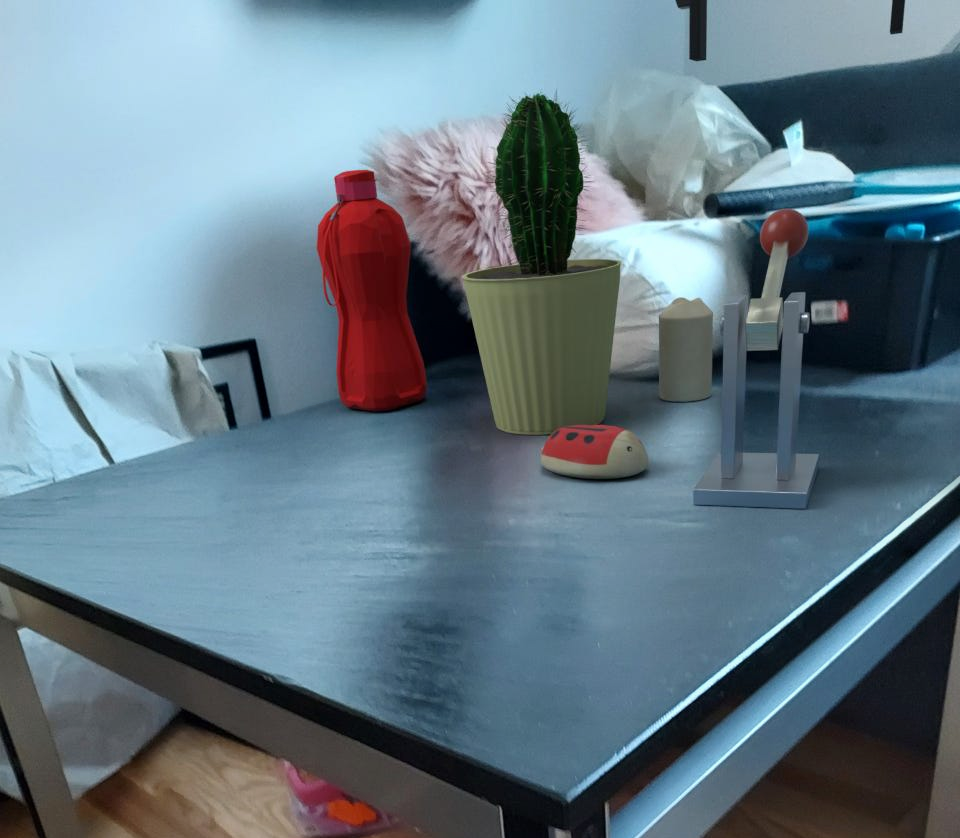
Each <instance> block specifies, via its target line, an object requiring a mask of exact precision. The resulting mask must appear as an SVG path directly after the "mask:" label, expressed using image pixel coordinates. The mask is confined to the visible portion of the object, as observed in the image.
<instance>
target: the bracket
mask: <svg viewBox="0 0 960 838" xmlns="http://www.w3.org/2000/svg"><path fill="white" fill-rule="evenodd" d="M805 306H806V292H805V291H800V292H799V291H797V292H791V293H790V294H789V295H788V296H787V298H786V299H785V301H783V328H782V333H781V356H780V357H781V358H780V359H781V360H780V377H779V395H778V396H779V397H778V398H779V399H778V416H777V417H778V419H777V437H776V438H777V439H776V452H744V436H745V406H746V405H745V403H746V376H747V375H746V374H747V373H746V372H747V350H746V330H745V322H746V318H747V313H748V309H749V294H734V295H733V296H732V297H731V298H730V299H729V300H727V301H726V302H725V303H724V306H723V315H722V316H721V318H720V324H719V332H720V336H722V337H723V346H722V347H723V349H722V351H723V353H722V355H723V356H722V389H721V390H722V394H721V397H722V399H721V400H722V401H721V440H720V451H717V452H716V453H715V455H714V457H713V458H712V460H711V461H710V463H709V465H708V466H707V468H706V469H705V471H704V473H702V475H701V477H700V479H699V480H698V481H697V483H696V485H695V486H694V488H693V491H692V492H693V493H692V495H693V496H692V497H693V498H692V504H693V505H694V506H695V505H696V506H717V507H719V506H720V507H741V508H742V507H745V508H766V509H767V508H770V509H771V508H772V509H792V510H793V509H795V510H796V509H797V510H798V509H799V510H806V509H807V506H808V503H809V500H810V496H811V494H812V490H813V488H814V483H815V480H816V477H817V474H818V471H819V465H820V454H819V453H797V449H798V448H797V447H798V428H799V413H800V395H801V377H802V360H803V343H804V334H808V333H809V329H810V312H808V311H807V312H805V309H806V307H805Z"/></svg>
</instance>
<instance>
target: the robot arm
mask: <svg viewBox="0 0 960 838" xmlns="http://www.w3.org/2000/svg"><path fill="white" fill-rule="evenodd" d="M675 4H676V6H677V8H678V9H679V10H683V11H684V10H689V13H688V14H689V18H688V19H689V21H688V22H689V25H688V26H689V27H688V28H689V29H688V31H689V33H688V36H689V37H688V39H689V40H688V43H689V44H688V45H689V46H688V49H689V50H688V53H689V55H688V60H690V61H694V62H702V61H707V46H708V45H707V39H708V38H707V37H708V35H707V34H708V32H707V31H708V30H707V29H708V0H675ZM905 6H906V0H891V10H890V11H891V12H890V23H889V34H890V36H891V35H898V34H903V31H904V21H905V20H904V19H905V18H904V17H905V8H906V7H905Z"/></svg>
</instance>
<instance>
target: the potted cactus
mask: <svg viewBox="0 0 960 838" xmlns="http://www.w3.org/2000/svg"><path fill="white" fill-rule="evenodd" d="M542 91H543V89H542V88H541V89H540V92H537V93H536V94H533V95H531V93H530V94H529V95H528V94H527V93H526V92H523V94H524V95H525V96H524V97H521V99H519V102H516V100H515V99H513V98H511V96H509V95H508V94H507V95H508V98H510V99H511V101H512V102H513V103H512V105H514V106H513V108H512V107H511V106H510V104H509V103H506V105H508V106H507V107H508V108H507V111H508V112H509V113H507V112H505V113H503V116H505V117H506V118H505V117H503V120H504V123H505V124H504V123H503V122H501V123H502V125H503V126H505V128H502V129H503V132H502V134H501V133H499V134H500V136H501V139H500V140H498V138H497V137H495V138H496V139H495V140H497V142H498V144H497V146H496V148H495V147H493V146H486V147H488V148H491V149H493V150H495V151H496V152H497V154H496V157H495V158H493V159H492V160H493V161H495V163H494V162H490V161H489V162H488V161H486V163H488V164H491V165H494V166H493V169H494V170H491V173H494V174H495V175H491V174H490V176H489V175H486V174H489V173H490V171H485V174H484V172H482V173H481V175H484V176H485V177H487V178H488V179H489V180H491V181H490V182H489V181H487V182H486V184H494V185H492V186H491V188H492V190H489V193H490V192H491V193H492V192H495V194H496V198H495V196H493V197H492V199H491V200H493V201H500V200H501V201H502V205H503V206H502V207H501V208H499V209H498V210H497V211H496V212H495V213H494V214H493V215H492V217H494V216H495V215H496V214H497V213H499V215H498V216H500V217H499V218H498V221H500V220H501V221H502V220H507V221H506V222H504V223H503V227H504V226H505V227H504V229H502V230H501V232H502V233H503V235H506V236H505V237H504V238H503V239H501V241H504V239H508V240H509V239H511V243H512V244H510V245H509V246H507V247H506V249H507V248H508V249H510V248H513V250H512V251H511V252H509V253H508V255H509V254H511V253H513V252H514V254H515V256H516V257H514V258H512V259H511V260H508V261H507V262H506V264H507V263H510V262H511V263H510V264H509V265H504V266H503V265H502V266H496V267H495V266H494V267H489V268H483V269H479V270H474V271H470V272H467V273H465V274H462V275H461V280H463V282H464V289H465V290H464V291H465V295H466V300H467V303H468V308H469V312H470V318H471V321H472V325H473V329H474V334H475V339H476V343H477V347H478V352H479V356H480V357H479V358H480V361H481V365H482V370H483V374H484V378H485V382H486V388H487V392H488V396H489V397H488V398H489V401H490V405H491V406H490V407H491V410H492V414H493V420H494V423H495V425H496V428H497V429H498V430H500V431H502V432H505V433H509V434H514V435H527V436H542V435H543V436H544V435H545V436H546V435H551V434H552V433H554V432H555V431H556V430H557V429H559V428H562V427H566V426H572V425H593V424H595V425H600V423H602V422H603V421H604V419H605V416H606V410H607V402H608V401H607V399H608V391H609V382H610V373H611V362H612V355H613V346H614V338H615V337H614V336H615V327H616V319H617V310H618V309H617V308H618V300H619V292H620V284H621V265H622V261H620V260H618V259H610V258H609V259H608V258H583V259H582V258H580V259H578V258H577V259H570V257H571V256H574V252H575V254H576V253H577V251H576V249H575V248H574V246H573V245H574V242H575V239H576V235H580V236H584V234H583V233H580V234H579V233H576V231H578V232H579V231H580V232H582V231H583V230H584V225H583V224H580V225H579V224H578V226H579V227H578V226H577V221H580V218H578V215H579V214H578V211H579V213H581V212H582V211H583V212H584V211H586V212H587V209H583V208H580V207H578V205H580V204H581V202H579V197H580V199H581V201H584V199H583V197H582V195H580V194H582V193H584V195H586V193H585V192H583V190H584V191H586V192H589V190H588V189H586V188H590V185H589V186H587V185H584V183H586V184H593V183H595V181H594V180H585V179H590V177H592V174H590V175H588V176H587V173H588V172H589V171H590V170H588V169H587V166H585V163H583V162H582V160H584V157H581V156H582V155H584V154H582V153H583V152H585V150H584V149H586V147H587V144H584V145H582V147H581V148H579V143H580V144H581V143H582V142H586V141H587V139H586V140H585V139H582V140H578V139H579V138H581V136H578V135H577V133H576V132H577V131H578V130H580V129H581V126H579V122H577V123H575V124H572V123H574V120H573V119H574V118H575V117H576V116H577V115H576V114H574V113H575V112H576V111H577V110H578V108H576V109H575V110H574V111H573V108H574V107H572V109H571V110H570V112H568V109H569V106H568V103H565V105H564V106H563V107H561V102H560V101H558V97H559V96H558V89H556V90H555V93H554V96H553V100H552V99H549V98H548V96H547V95H545V94H542ZM517 95H518V94H517ZM530 96H531V97H530ZM518 97H520V96H519V95H518ZM564 101H565V100H564ZM564 101H562V103H563V102H564ZM571 101H572V100H570V101H569V103H571ZM566 106H567V108H566ZM512 109H514V110H512ZM562 109H564V110H563V111H562ZM565 109H566V110H565ZM510 114H511V115H510ZM573 114H574V115H573ZM500 115H502V113H500ZM572 115H573V116H572ZM580 125H583V124H582V123H581V124H580ZM584 137H585V136H584V135H583V136H582V138H584ZM580 150H584V151H581V152H580ZM580 164H581V165H583V166H585V167H584V168H583V169H582V170H581V168H580ZM489 168H490V169H492V166H491V167H489ZM587 171H588V172H587ZM584 180H585V181H584ZM493 187H495V188H493ZM493 198H494V199H493ZM500 210H501V211H500ZM580 210H581V211H580ZM500 214H501V215H500ZM501 217H503V218H501ZM581 221H583V222H586V220H584V219H581ZM586 230H588V229H586ZM510 236H511V237H510ZM572 252H573V253H572ZM513 260H515V261H513Z"/></svg>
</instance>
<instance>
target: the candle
mask: <svg viewBox="0 0 960 838" xmlns="http://www.w3.org/2000/svg"><path fill="white" fill-rule="evenodd" d="M713 329H714V312H713V310H712V309H711V308H710V307H709V306H708V305H707V304H706V303H705V302H704V301H703V300H702V298H701V297H697V298H694V299H692V300H690V299H687V298H686V297H677V298H674V300H672V301H671V303H669V305H667V306H666V307H665V308H664V309H663V310H662V311H661V312H660V313H659V315H658V382H659V383H658V386H659V387H658V389H659V398H660V399H661V400H663V401H667V402H677V403H679V402H694V401H695V402H696V401H701V400H704V399H707V398H710V397H711V396H712V392H713V391H712V389H713V387H712V386H713V341H714V339H713V337H714V336H713V335H714V334H713V333H714V330H713Z"/></svg>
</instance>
